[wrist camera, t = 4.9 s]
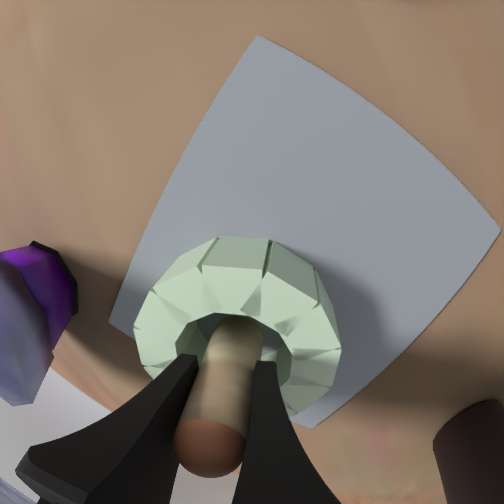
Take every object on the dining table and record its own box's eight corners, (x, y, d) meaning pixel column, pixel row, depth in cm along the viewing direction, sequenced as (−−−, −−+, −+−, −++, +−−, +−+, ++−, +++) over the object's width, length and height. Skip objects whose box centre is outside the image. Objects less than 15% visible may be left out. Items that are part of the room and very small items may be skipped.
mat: (497, 227, 11) (501, 229, 11) (311, 424, 17) (311, 428, 17) (258, 37, 10) (257, 34, 10) (111, 318, 16) (107, 322, 15)
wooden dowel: (272, 328, 13) (253, 472, 6) (251, 362, 13) (225, 494, 7) (224, 307, 12) (172, 445, 6) (206, 343, 13) (157, 471, 7)
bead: (366, 300, 13) (381, 340, 10) (268, 400, 16) (263, 441, 13) (208, 200, 12) (185, 220, 10) (140, 330, 15) (115, 365, 13)
